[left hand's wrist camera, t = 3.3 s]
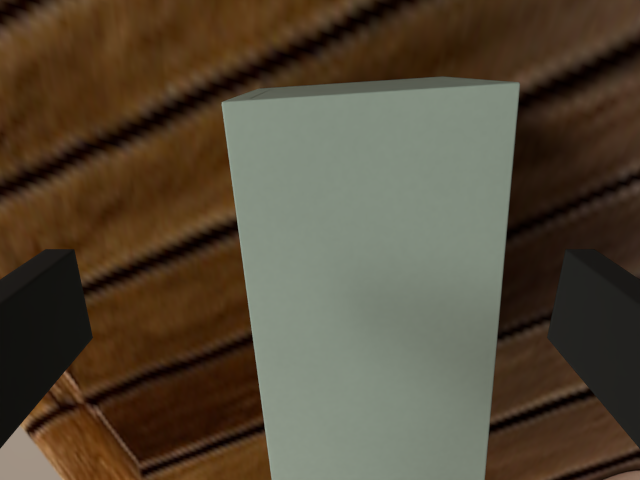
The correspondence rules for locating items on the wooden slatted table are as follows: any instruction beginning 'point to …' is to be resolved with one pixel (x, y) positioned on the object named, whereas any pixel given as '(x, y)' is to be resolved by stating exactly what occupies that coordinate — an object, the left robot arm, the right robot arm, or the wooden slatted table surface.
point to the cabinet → (374, 270)
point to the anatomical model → (626, 476)
